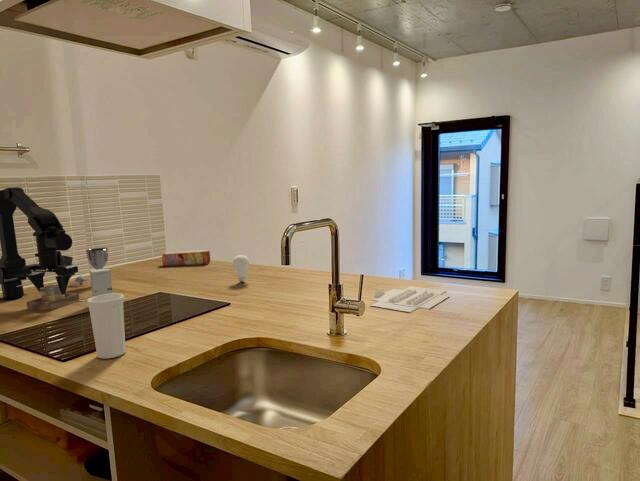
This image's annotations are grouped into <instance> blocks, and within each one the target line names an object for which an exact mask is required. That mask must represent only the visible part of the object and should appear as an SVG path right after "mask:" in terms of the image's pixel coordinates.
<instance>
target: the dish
mask: <svg viewBox="0 0 640 481" xmlns="http://www.w3.org/2000/svg"><path fill="white" fill-rule="evenodd" d="M75 280H76V279H73V280H71V281H70V280H69V282H68V285H69V287H75V288H77V287H78V288H79V287H85V286H89V285H91V278H85V281H84V282H82V284H81V285H80V283H79V282H76V281H75Z"/></svg>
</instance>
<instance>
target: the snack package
mask: <svg viewBox="0 0 640 481" xmlns="http://www.w3.org/2000/svg"><path fill="white" fill-rule="evenodd" d="M161 260H162V265H163V266H164V267H170V266H174V267H175V266H190V265H193V266H198V265H199V266H200V265H209V264H210V262H211V252H210V249H199V250H198V249H197V250H184V251H183V250H181V251H180V250H179V251H169V252H168V251H166V252H164V253H162V257H161Z"/></svg>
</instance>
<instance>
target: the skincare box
mask: <svg viewBox="0 0 640 481" xmlns="http://www.w3.org/2000/svg"><path fill="white" fill-rule="evenodd" d="M89 273H90V279H91V284H90V285H91V293H92V294H91V295H92V296H91V297H94V296H97V295H102V294H111V293H114V292H113V285H112V283H113V282H112V272H111V269H110V268H103V269H98V270H96V269H91V270H90V271H89Z"/></svg>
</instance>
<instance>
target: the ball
mask: <svg viewBox="0 0 640 481" xmlns="http://www.w3.org/2000/svg"><path fill="white" fill-rule="evenodd" d="M85 279H86V278H85V276H83V275H77V277H76V278H75V279H74V280H75V281H76V282H79V283H80V285H81V284H82V282H84V281H85Z"/></svg>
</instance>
